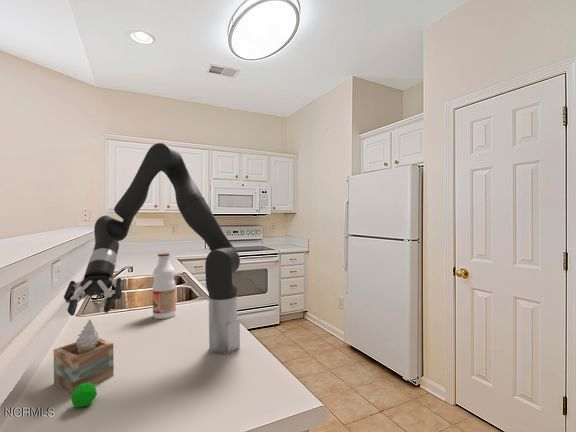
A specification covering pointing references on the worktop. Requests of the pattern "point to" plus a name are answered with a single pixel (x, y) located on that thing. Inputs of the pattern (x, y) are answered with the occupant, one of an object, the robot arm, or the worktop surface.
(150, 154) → the robot arm
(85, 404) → the polyhedron
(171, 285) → the fruit juice
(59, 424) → the worktop surface
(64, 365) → the square wooden crate
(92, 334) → the ice cream cone
